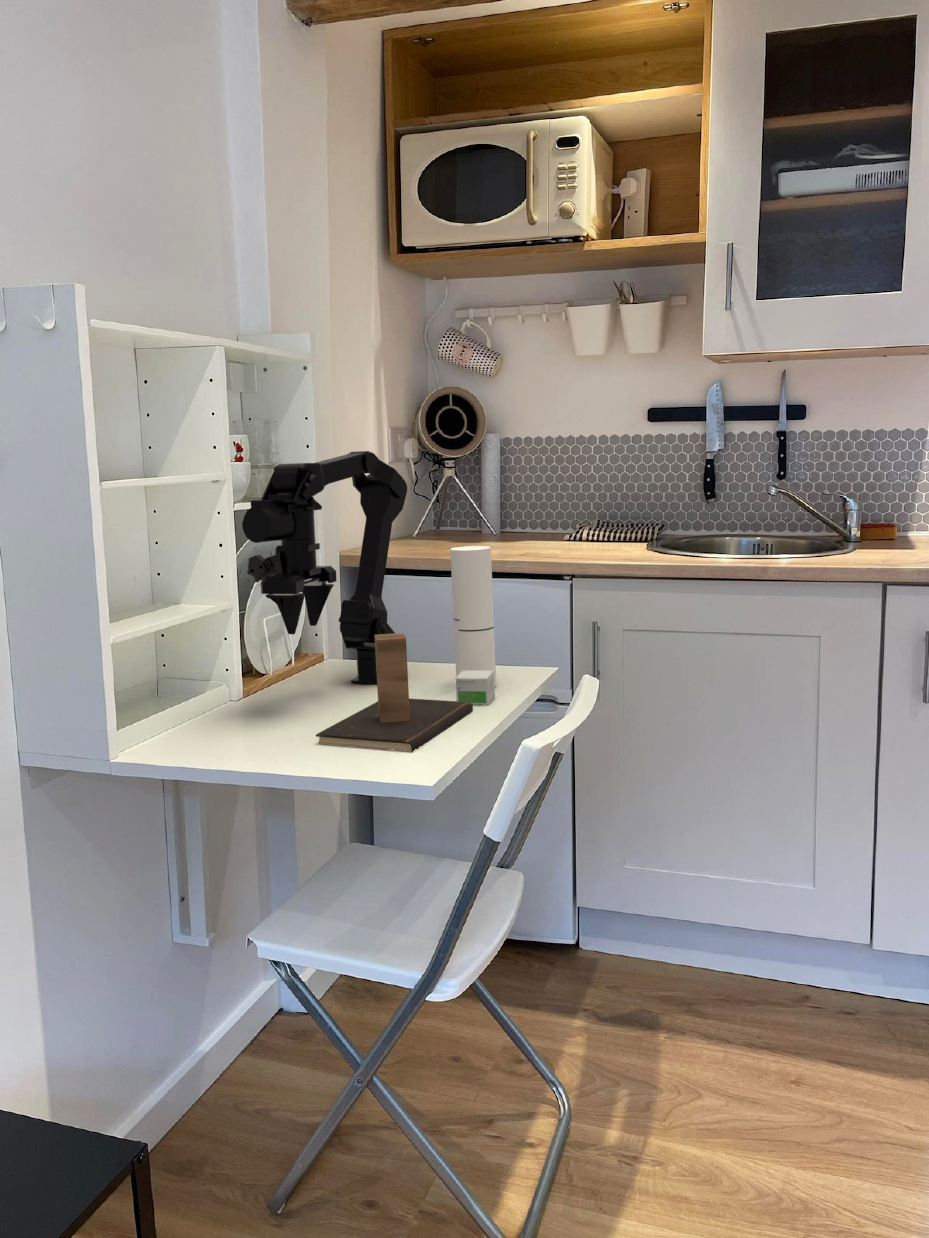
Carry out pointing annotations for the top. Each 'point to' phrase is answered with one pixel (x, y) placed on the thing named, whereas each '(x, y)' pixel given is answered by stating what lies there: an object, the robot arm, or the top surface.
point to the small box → (475, 687)
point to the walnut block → (392, 677)
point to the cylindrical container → (473, 608)
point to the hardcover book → (396, 726)
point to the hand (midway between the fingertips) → (302, 629)
